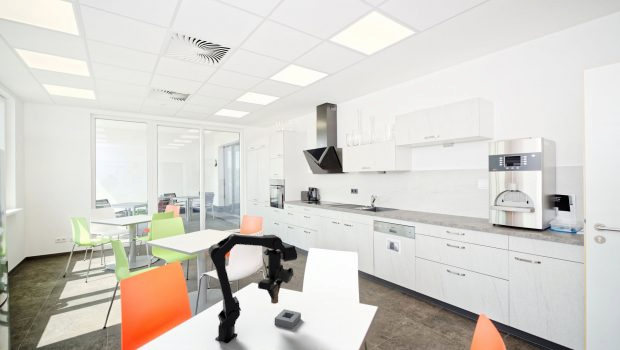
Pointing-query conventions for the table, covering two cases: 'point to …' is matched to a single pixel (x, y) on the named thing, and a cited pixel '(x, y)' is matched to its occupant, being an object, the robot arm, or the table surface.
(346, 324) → the table surface
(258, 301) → the table surface
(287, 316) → the socket
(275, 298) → the peg
